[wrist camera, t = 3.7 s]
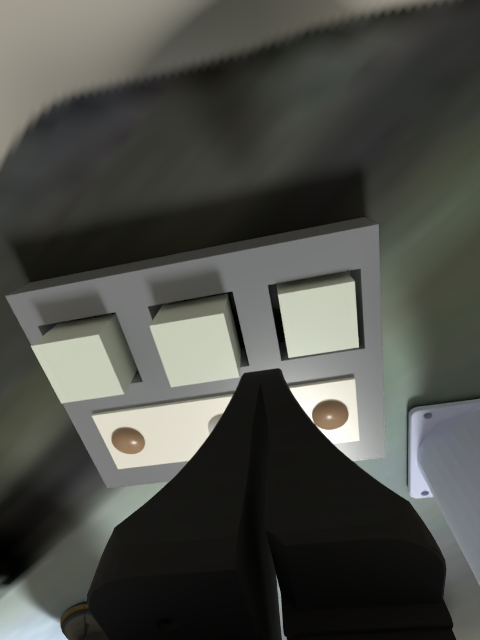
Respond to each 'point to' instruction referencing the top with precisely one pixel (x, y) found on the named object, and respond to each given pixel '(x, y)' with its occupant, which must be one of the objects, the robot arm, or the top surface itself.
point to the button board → (259, 353)
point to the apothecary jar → (81, 624)
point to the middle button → (197, 341)
